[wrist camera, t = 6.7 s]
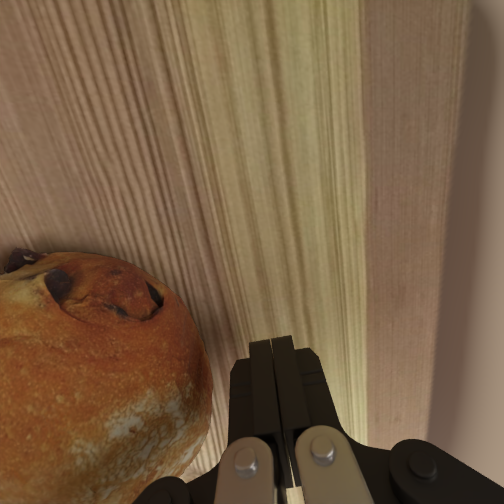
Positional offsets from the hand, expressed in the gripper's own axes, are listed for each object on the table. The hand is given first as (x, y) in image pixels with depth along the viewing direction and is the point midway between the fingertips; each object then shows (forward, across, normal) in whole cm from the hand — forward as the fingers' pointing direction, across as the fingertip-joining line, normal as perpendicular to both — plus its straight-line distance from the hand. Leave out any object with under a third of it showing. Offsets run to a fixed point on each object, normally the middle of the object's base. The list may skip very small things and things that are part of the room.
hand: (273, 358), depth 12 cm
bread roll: (+2, +7, 0) cm, 8 cm away
